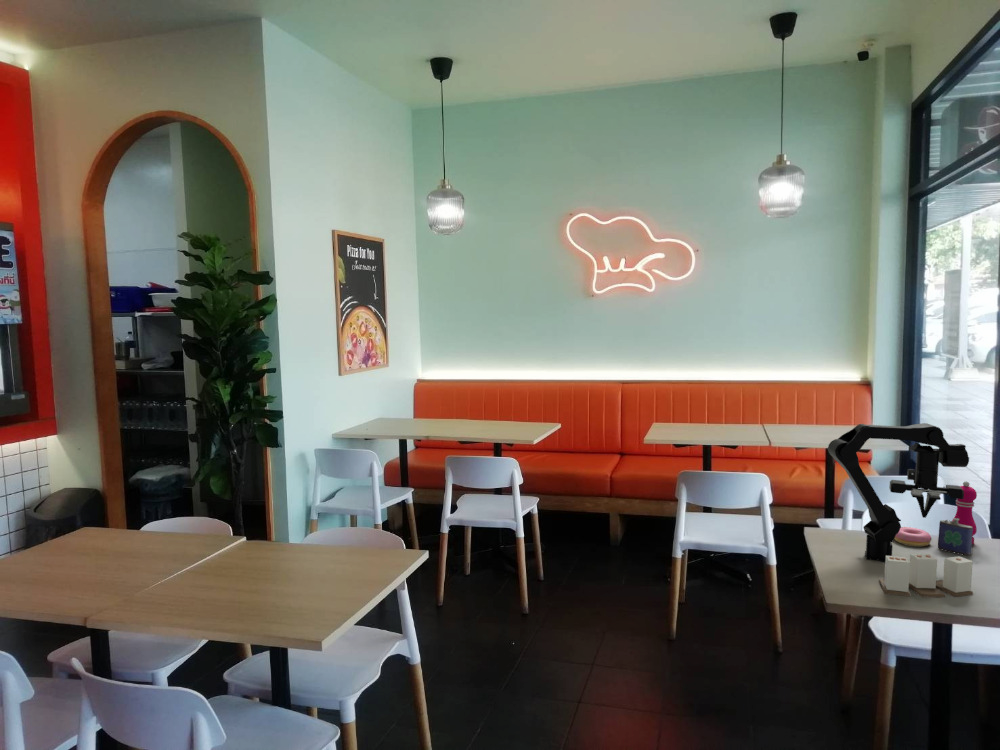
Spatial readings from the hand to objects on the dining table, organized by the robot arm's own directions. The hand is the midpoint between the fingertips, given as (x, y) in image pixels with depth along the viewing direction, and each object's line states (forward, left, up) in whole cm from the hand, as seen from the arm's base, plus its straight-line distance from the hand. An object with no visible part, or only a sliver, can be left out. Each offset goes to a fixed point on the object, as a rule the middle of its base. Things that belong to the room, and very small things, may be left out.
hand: (924, 517), depth 213 cm
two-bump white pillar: (-3, -26, -13) cm, 29 cm away
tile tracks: (-2, -26, -13) cm, 29 cm away
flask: (+10, +12, -13) cm, 21 cm away
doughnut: (-1, +17, -13) cm, 22 cm away
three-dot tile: (-9, -31, -13) cm, 35 cm away
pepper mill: (+14, +24, -13) cm, 31 cm away
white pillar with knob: (+5, -25, -13) cm, 29 cm away
